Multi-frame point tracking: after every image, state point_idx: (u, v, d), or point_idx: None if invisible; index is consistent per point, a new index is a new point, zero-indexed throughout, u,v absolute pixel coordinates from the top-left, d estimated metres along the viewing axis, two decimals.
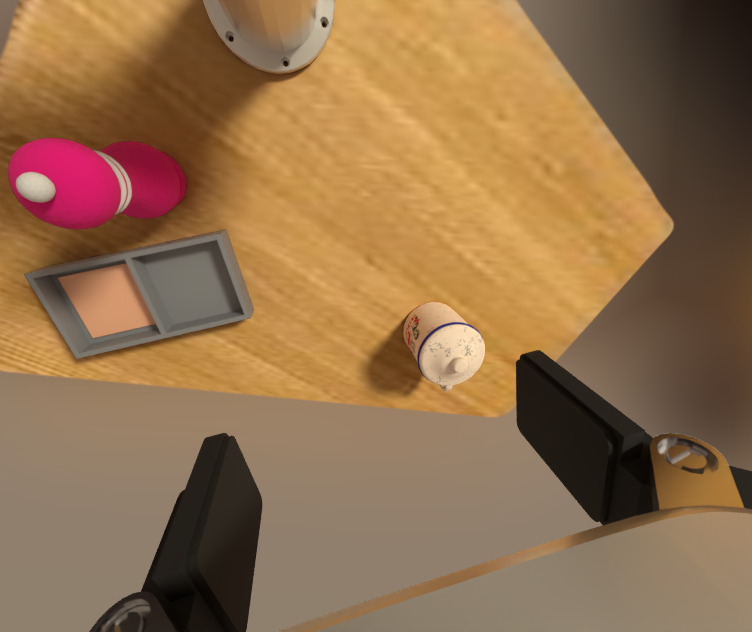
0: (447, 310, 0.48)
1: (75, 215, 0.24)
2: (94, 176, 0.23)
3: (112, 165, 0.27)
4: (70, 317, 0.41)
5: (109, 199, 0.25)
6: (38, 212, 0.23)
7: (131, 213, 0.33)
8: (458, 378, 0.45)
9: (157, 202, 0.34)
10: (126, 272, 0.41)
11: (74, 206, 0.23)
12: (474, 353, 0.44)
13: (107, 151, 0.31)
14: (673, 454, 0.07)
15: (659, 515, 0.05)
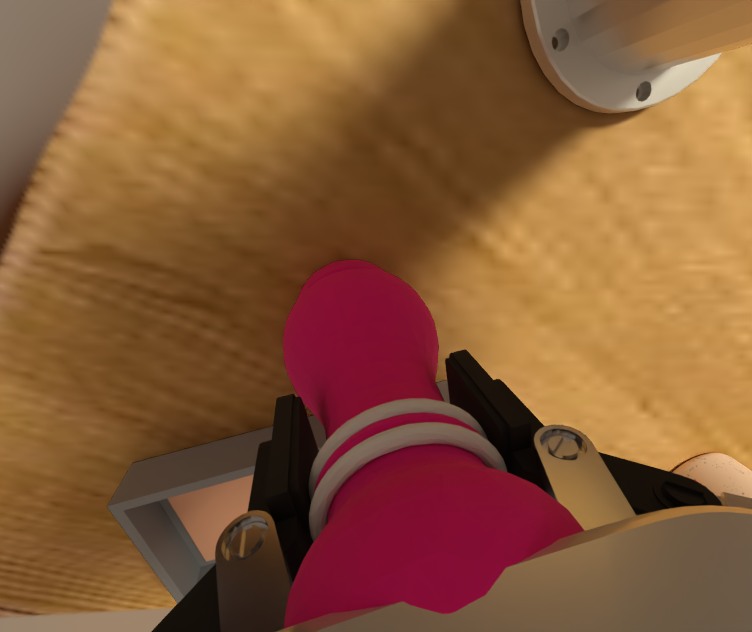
0: None
1: None
2: None
3: (498, 458, 0.08)
4: (174, 541, 0.23)
5: None
6: None
7: None
8: None
9: None
10: None
11: None
12: None
13: (351, 322, 0.13)
14: (553, 446, 0.08)
15: (659, 515, 0.05)
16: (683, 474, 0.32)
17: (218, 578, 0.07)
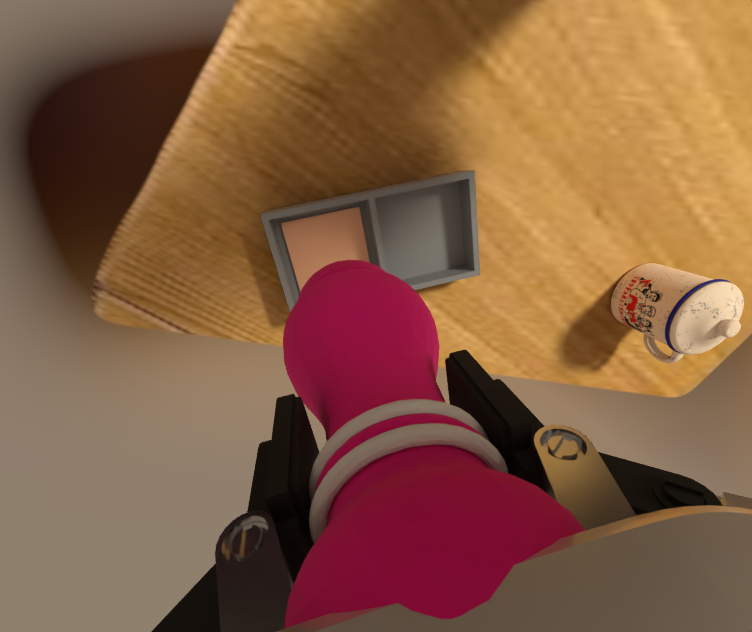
0: (680, 270, 0.42)
1: None
2: None
3: (499, 459, 0.08)
4: (286, 271, 0.36)
5: None
6: None
7: None
8: (709, 345, 0.39)
9: None
10: (353, 219, 0.36)
11: None
12: (737, 315, 0.38)
13: (352, 322, 0.13)
14: (553, 446, 0.08)
15: (659, 515, 0.05)
16: (629, 276, 0.45)
17: (218, 578, 0.07)
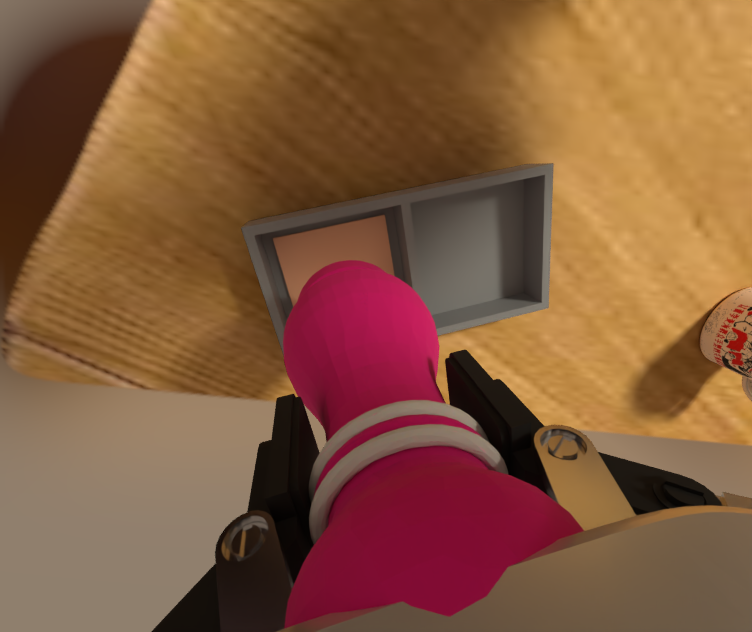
0: None
1: None
2: None
3: (499, 460, 0.08)
4: (281, 305, 0.25)
5: None
6: None
7: None
8: None
9: None
10: (375, 232, 0.25)
11: None
12: None
13: (352, 322, 0.13)
14: (553, 446, 0.08)
15: (659, 515, 0.05)
16: (729, 303, 0.34)
17: (218, 578, 0.07)
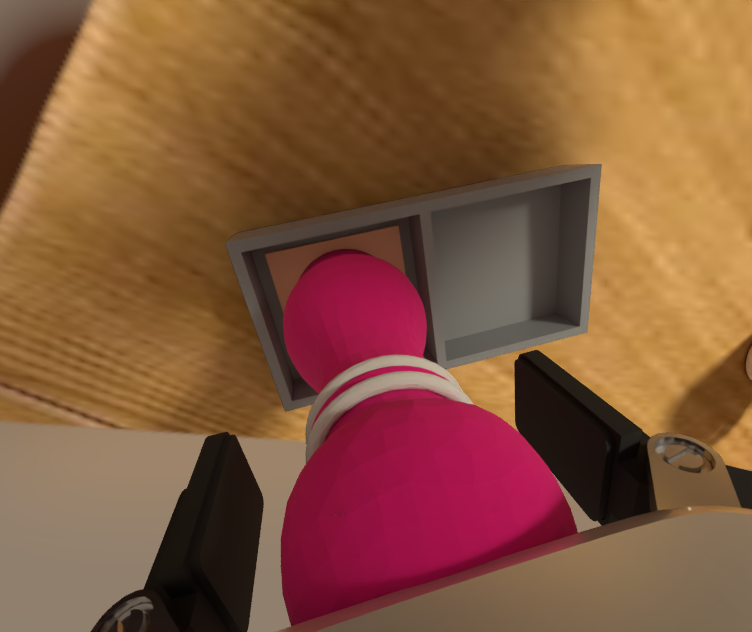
0: None
1: None
2: None
3: None
4: (275, 332, 0.21)
5: None
6: None
7: None
8: None
9: None
10: (387, 245, 0.21)
11: None
12: None
13: (345, 299, 0.14)
14: (670, 453, 0.07)
15: (659, 515, 0.05)
16: None
17: None
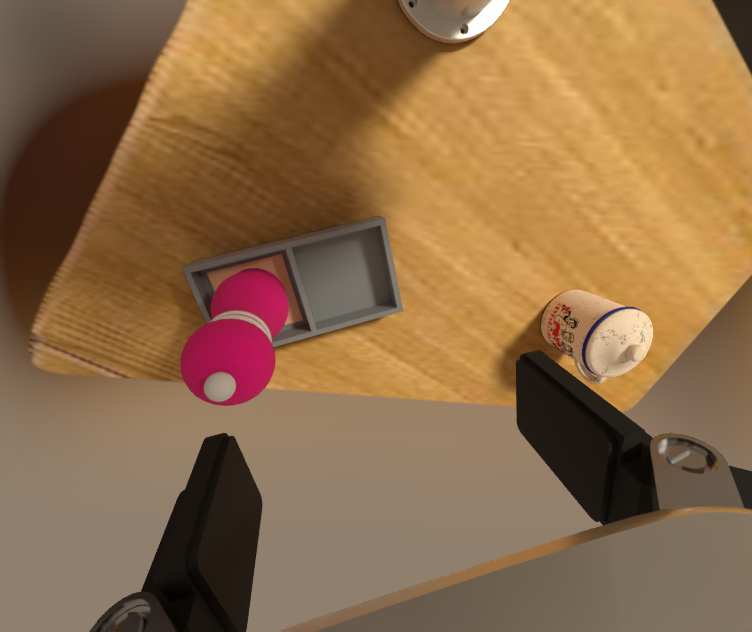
0: (598, 296, 0.45)
1: (244, 398, 0.23)
2: (263, 359, 0.23)
3: (260, 327, 0.26)
4: None
5: (271, 373, 0.24)
6: (210, 400, 0.22)
7: None
8: (625, 368, 0.42)
9: (275, 333, 0.33)
10: (276, 265, 0.38)
11: (246, 392, 0.23)
12: (646, 340, 0.40)
13: (233, 293, 0.31)
14: (673, 454, 0.07)
15: (659, 515, 0.05)
16: (554, 302, 0.47)
17: None
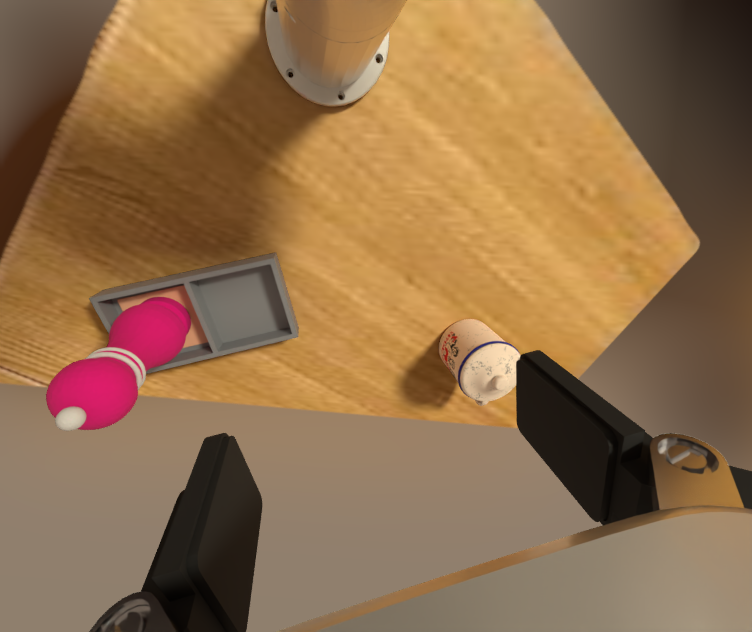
0: (484, 328, 0.50)
1: (101, 425, 0.28)
2: (117, 394, 0.28)
3: (130, 362, 0.31)
4: None
5: (129, 404, 0.29)
6: None
7: None
8: (497, 394, 0.47)
9: (166, 358, 0.38)
10: (181, 294, 0.43)
11: (101, 420, 0.28)
12: (513, 371, 0.45)
13: (123, 325, 0.36)
14: (673, 454, 0.07)
15: (659, 515, 0.05)
16: (448, 330, 0.52)
17: None
